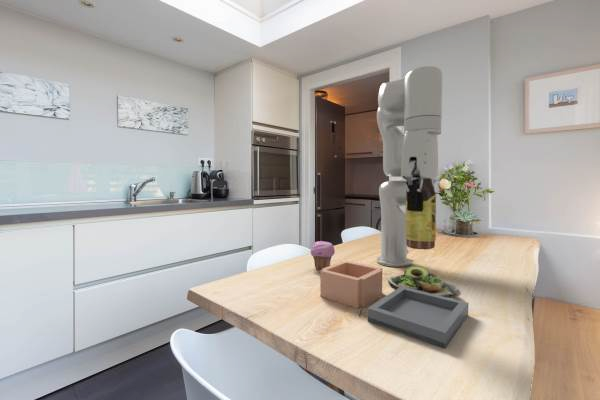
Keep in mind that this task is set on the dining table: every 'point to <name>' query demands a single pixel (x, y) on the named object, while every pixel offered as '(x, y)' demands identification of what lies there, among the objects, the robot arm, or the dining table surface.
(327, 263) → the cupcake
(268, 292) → the dining table surface
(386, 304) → the tray
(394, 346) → the dining table surface
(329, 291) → the square terracotta planter
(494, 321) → the dining table surface
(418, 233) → the sauce bottle
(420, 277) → the salad plate
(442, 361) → the dining table surface
